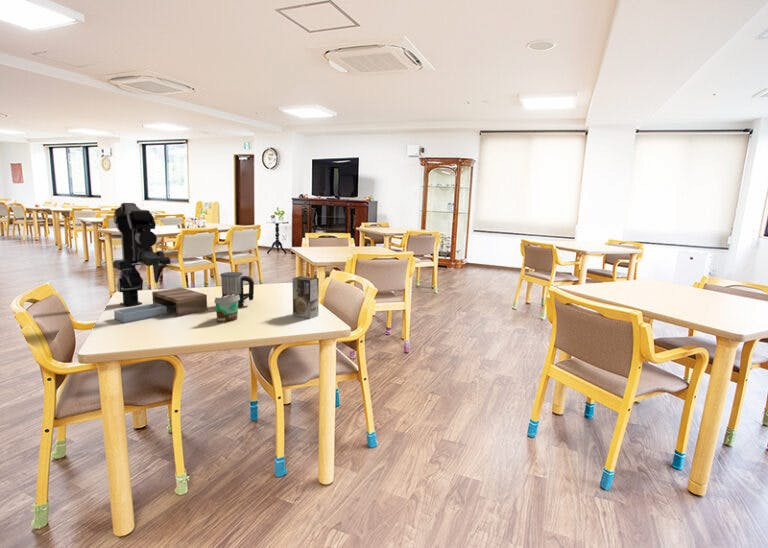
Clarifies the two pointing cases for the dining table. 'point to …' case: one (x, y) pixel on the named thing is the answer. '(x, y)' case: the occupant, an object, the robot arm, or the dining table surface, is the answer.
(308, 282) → the coffee box
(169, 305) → the seat rails
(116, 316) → the blue-gray rectangular tray
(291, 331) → the dining table surface
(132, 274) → the robot arm
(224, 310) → the food container
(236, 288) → the milk frother
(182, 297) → the walnut overhang
